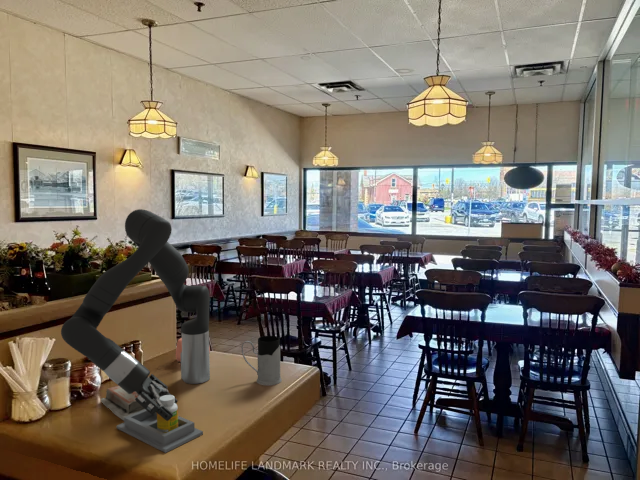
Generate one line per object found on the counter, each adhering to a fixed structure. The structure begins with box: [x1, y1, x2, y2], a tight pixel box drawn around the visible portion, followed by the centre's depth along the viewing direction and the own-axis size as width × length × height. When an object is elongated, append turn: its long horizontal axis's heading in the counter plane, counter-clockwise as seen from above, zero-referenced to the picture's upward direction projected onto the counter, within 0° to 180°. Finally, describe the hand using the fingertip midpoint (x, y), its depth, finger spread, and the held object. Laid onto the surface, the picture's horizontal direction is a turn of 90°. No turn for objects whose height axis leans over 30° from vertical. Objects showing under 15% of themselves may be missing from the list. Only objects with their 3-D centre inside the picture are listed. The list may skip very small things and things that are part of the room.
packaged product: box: [100, 385, 150, 422], centre depth 151 cm, size 18×5×10 cm
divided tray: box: [116, 407, 204, 454], centre depth 135 cm, size 22×12×3 cm, turn 54°
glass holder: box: [241, 335, 283, 386], centre depth 171 cm, size 9×14×15 cm, turn 80°
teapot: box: [175, 337, 211, 363], centre depth 192 cm, size 12×18×10 cm, turn 170°
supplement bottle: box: [157, 394, 179, 433], centre depth 132 cm, size 5×5×10 cm
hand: (173, 410), depth 132 cm, fingers open, 8 cm apart
